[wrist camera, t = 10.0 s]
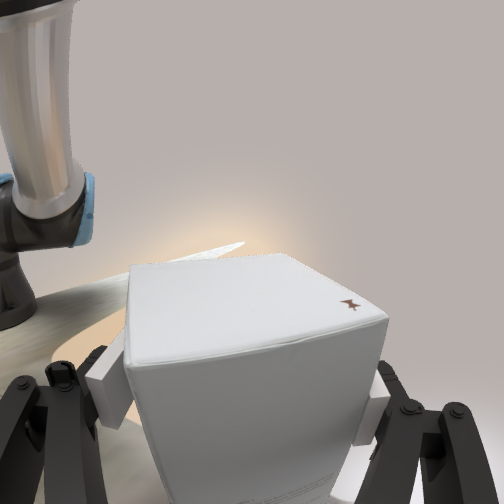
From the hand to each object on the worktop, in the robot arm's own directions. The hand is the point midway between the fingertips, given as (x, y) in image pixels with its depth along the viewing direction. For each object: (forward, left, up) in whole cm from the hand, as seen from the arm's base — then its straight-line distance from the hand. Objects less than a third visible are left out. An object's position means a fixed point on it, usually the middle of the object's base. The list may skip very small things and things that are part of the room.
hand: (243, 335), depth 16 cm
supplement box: (-2, -4, -8) cm, 9 cm away
